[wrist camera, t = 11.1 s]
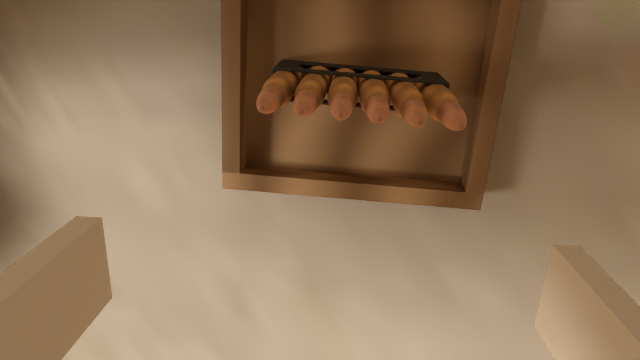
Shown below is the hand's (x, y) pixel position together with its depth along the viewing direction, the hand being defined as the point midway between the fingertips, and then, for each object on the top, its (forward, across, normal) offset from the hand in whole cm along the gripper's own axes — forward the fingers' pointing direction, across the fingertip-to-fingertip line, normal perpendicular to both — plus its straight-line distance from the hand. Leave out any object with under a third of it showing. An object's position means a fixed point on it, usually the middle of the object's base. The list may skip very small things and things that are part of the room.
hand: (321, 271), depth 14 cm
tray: (+21, +2, +3) cm, 21 cm away
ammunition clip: (+20, +1, +3) cm, 21 cm away
